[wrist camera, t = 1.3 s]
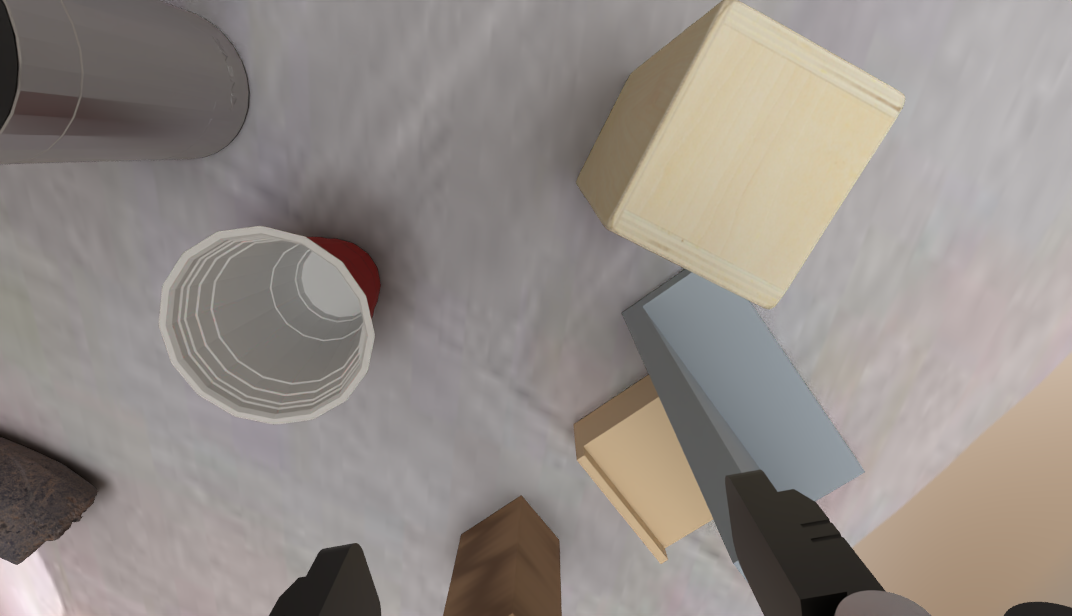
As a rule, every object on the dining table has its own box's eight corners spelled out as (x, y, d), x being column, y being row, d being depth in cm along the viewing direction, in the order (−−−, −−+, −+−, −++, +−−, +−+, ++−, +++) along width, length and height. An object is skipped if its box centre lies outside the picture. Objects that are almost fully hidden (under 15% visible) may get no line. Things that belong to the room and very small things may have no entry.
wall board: (683, 562, 47) (839, 1038, 22) (533, 374, 43) (512, 691, 18) (854, 461, 44) (1255, 870, 19) (711, 250, 40) (981, 419, 15)
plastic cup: (384, 377, 43) (325, 461, 32) (246, 314, 42) (132, 376, 31) (444, 247, 41) (403, 286, 29) (298, 175, 40) (195, 187, 28)
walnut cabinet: (497, 578, 48) (479, 735, 35) (459, 535, 47) (426, 680, 34) (559, 540, 47) (563, 687, 34) (521, 495, 46) (511, 629, 33)
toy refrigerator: (668, 234, 40) (790, 323, 20) (573, 185, 39) (599, 226, 19) (730, 125, 38) (935, 100, 18) (630, 71, 37) (727, -18, 17)
